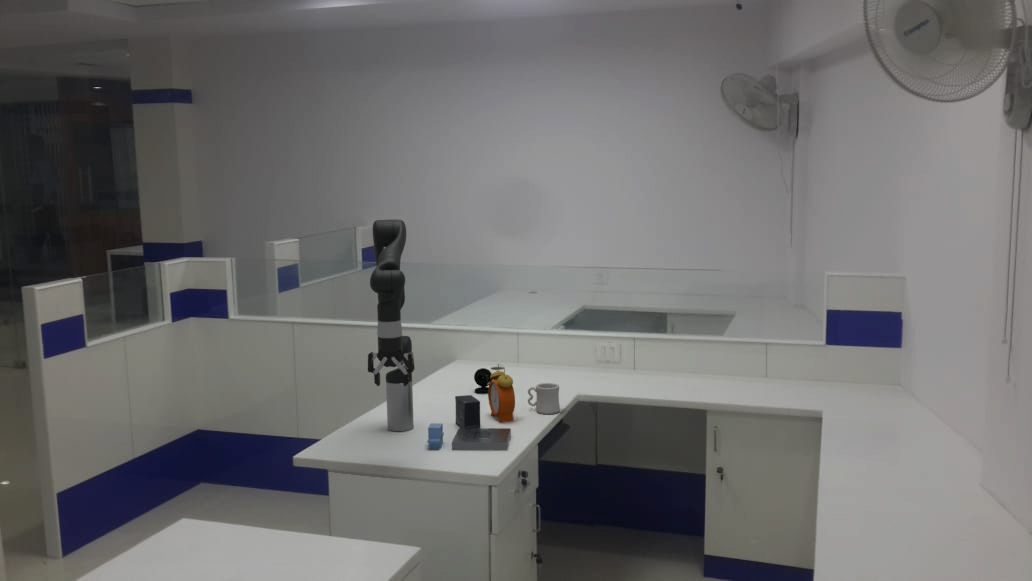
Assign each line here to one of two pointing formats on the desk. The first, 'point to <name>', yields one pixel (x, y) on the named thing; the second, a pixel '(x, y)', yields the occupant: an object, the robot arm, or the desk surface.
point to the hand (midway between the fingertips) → (391, 385)
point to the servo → (435, 435)
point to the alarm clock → (501, 396)
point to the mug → (546, 398)
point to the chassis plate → (481, 439)
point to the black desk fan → (482, 380)
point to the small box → (467, 412)
